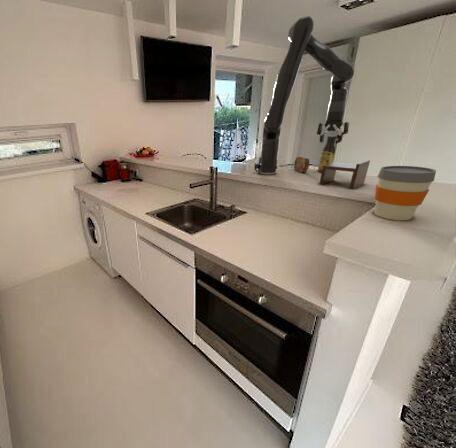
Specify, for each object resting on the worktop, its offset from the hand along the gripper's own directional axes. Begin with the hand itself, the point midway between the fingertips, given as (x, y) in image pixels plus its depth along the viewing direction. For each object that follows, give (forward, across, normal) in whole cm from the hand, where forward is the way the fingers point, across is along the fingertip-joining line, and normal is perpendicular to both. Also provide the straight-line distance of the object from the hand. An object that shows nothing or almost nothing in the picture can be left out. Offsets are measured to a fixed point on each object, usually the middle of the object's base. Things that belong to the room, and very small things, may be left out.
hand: (329, 142), depth 137 cm
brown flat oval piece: (+17, +11, +6) cm, 21 cm away
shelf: (+16, -18, +24) cm, 34 cm away
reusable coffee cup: (+17, -45, +56) cm, 74 cm away
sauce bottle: (+17, 0, 0) cm, 17 cm away
